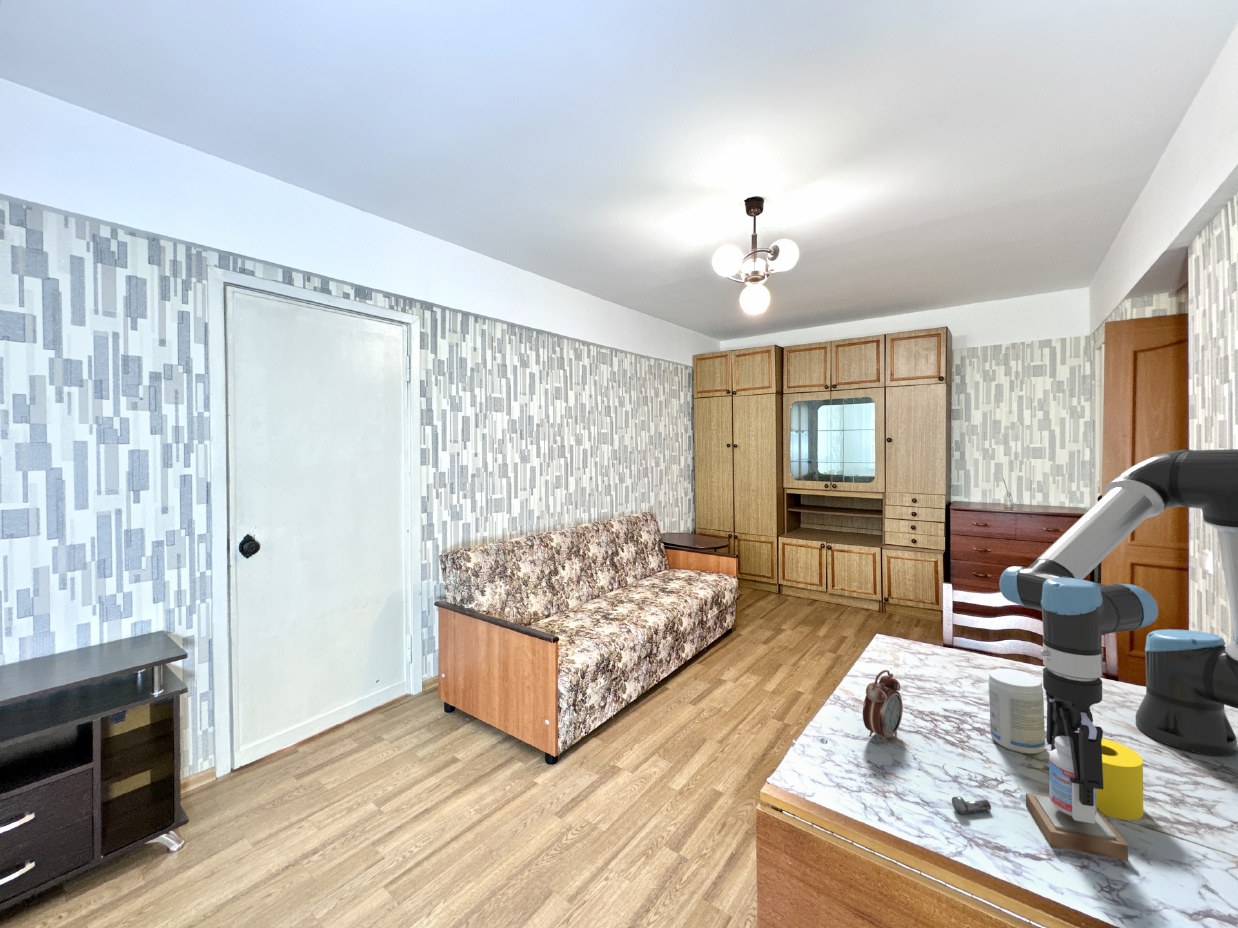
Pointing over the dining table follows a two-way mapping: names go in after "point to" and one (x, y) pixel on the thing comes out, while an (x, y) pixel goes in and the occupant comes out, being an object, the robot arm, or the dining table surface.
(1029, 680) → the supplement tub
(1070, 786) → the pill bottle
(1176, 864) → the dining table surface
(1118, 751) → the yellow toilet paper roll
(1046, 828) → the stand
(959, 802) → the loose bolt
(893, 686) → the alarm clock
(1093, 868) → the dining table surface
